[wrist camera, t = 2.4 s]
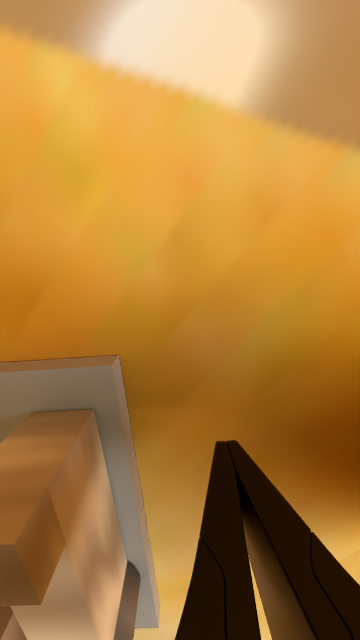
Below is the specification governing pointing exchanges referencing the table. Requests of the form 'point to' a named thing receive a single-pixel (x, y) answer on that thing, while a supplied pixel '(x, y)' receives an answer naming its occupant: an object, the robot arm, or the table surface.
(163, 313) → the table surface
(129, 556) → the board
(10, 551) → the leg
